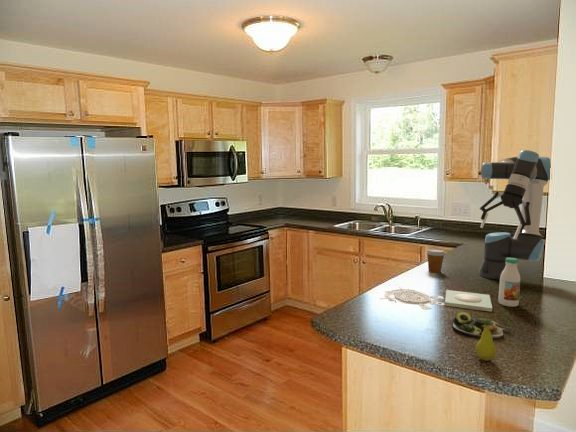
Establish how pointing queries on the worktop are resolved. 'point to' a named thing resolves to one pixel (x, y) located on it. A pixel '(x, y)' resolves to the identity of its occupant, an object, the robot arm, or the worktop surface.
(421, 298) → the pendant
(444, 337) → the worktop surface
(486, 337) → the fruit
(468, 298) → the locating board
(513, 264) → the milk bottle
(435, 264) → the disposable coffee cup
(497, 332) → the salad plate
